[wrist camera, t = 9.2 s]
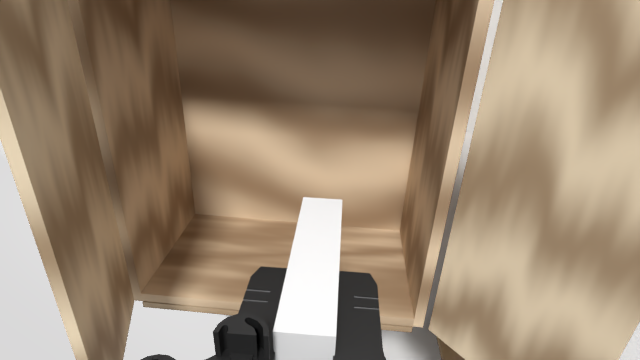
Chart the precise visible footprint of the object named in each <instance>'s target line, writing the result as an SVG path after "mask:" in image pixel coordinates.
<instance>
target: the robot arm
mask: <svg viewBox="0 0 640 360" xmlns="http://www.w3.org/2000/svg"><path fill="white" fill-rule="evenodd" d="M341 220H342V200H341V199H325V198H309V197H303V201H302V205H301V210H300V214H299V218H298V223H297V227H296V232H295V236H294V240H293V245H292V249H291V254H290V258H289V263H288V267H287V268H277V267H263V266H261V267H260V268H259V269H258V270H257V271H256V272H255V273H254V274H253V275H252V276H251V277H250V280H249V283H248V286H247V290H246V292H245V295H244V298H243V301H242V303H241V306H240V309H239V312H238V314H235V315H233V316H230V317H227V318H226V319H224V320H223V321H222V322H220V323H219V324H218V325H217V327H216V328H215V330H214V331H213V336H214V343H215V352H216V355H214V356H212V357H210V358H208V359H206V360H386V358H385V356H384V353H383V348H382V336H381V323H380V311H379V300H378V286H377V283H376V282H375V280H374V279H373V277H372V276H371V274H370V273H361V272H347V271H339V264H340V242H341ZM141 360H175V359H174V358H172V357H170V356H168V355H160V354H158V355H153V356H147V357H145V358H143V359H141Z"/></svg>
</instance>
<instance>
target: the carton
mask: <svg viewBox="0 0 640 360" xmlns="http://www.w3.org/2000/svg"><path fill="white" fill-rule="evenodd" d="M67 3H68V7H69V12H70V16H71V21H72V25H73V30H74V34H75V38H76V43H77V47H78V52H79V56H80V61H81V65H82V70H83V74H84V79H85V83H86V87H87V92H88V96H89V101H90V105H91V110H92V114H93V119H94V123H95V128H96V132H97V136H98V141H99V145H100V150H101V154H102V159H103V163H104V168H105V172H106V177H107V181H108V185H109V190H110V194H111V199H112V203H113V208H114V212H115V217H116V221H117V226H118V230H119V234H120V239H121V243H122V248H123V252H124V257H125V261H126V266H127V270H128V275H129V279H130V283H131V288H132V292H133V297H134V300H138V301H143V307H151V308H161V309H171V310H183V311H193V312H202V313H213V314H223V315H235V314H238V312H239V309H240V306H241V303H242V301H243V298H244V295H245V292H246V290H247V286H248V283H249V280H250V277H251V276H252V275H253V274H254V273H255V272H256V271H257V270H258V269H259V268H260V267H261V266H263V267H277V268H287V267H288V263H289V258H290V254H291V249H292V245H293V240H294V236H295V232H296V227H297V223H298V218H299V214H300V210H301V205H302V201H303V197H309V198H325V199H341V200H342V220H341V242H340V264H339V271H347V272H361V273H370V274H371V276H372V277H373V279H374V280H375V282H376V283H377V286H378V300H379V311H380V323H381V330H391V331H401V332H412V328H413V327H423V324H424V320H425V315H426V311H427V306H428V302H429V297H430V292H431V288H432V283H433V279H434V274H435V270H436V265H437V260H438V256H439V251H440V247H441V242H442V238H443V233H444V228H445V224H446V219H447V215H448V210H449V205H450V201H451V196H452V192H453V187H454V183H455V178H456V173H457V169H458V164H459V160H460V155H461V151H462V146H463V141H464V137H465V132H466V128H467V123H468V119H469V114H470V109H471V105H472V100H473V96H474V91H475V86H476V82H477V77H478V73H479V68H480V64H481V59H482V54H483V50H484V45H485V41H486V36H487V32H488V27H489V22H490V18H491V13H492V9H493V4H494V0H67ZM412 326H413V327H412Z"/></svg>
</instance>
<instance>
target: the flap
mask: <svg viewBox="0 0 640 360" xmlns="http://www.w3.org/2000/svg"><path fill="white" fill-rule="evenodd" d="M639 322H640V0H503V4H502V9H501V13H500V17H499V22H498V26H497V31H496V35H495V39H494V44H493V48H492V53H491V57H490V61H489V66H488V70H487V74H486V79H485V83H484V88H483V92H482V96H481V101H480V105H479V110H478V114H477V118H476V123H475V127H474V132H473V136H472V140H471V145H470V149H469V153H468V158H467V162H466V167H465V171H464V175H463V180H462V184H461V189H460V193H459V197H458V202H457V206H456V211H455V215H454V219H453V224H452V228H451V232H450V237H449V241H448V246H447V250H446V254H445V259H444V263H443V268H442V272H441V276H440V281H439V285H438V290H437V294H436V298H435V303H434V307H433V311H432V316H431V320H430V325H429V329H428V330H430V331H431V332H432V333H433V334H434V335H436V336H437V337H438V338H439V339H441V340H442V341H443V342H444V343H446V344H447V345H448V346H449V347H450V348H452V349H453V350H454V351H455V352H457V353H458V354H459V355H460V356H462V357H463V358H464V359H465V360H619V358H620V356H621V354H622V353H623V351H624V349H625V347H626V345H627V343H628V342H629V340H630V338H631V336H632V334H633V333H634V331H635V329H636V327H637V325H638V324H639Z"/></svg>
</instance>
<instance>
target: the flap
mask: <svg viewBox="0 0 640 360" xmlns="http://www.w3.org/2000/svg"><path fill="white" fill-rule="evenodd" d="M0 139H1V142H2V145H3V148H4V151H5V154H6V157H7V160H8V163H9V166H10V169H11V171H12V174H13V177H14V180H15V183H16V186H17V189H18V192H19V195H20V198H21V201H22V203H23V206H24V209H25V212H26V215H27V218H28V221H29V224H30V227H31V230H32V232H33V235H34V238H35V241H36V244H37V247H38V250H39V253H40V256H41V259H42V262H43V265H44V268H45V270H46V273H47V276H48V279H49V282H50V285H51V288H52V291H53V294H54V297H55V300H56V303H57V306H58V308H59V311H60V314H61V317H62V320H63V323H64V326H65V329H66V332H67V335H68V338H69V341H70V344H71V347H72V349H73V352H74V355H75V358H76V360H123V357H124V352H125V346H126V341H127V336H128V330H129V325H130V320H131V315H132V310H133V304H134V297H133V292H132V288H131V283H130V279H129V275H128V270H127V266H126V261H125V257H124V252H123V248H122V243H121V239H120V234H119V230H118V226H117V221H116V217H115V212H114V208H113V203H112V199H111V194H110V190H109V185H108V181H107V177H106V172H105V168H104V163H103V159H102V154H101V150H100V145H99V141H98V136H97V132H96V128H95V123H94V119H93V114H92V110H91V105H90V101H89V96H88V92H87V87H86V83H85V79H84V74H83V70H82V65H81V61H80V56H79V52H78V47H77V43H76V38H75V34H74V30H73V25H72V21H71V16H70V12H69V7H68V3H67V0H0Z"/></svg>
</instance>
